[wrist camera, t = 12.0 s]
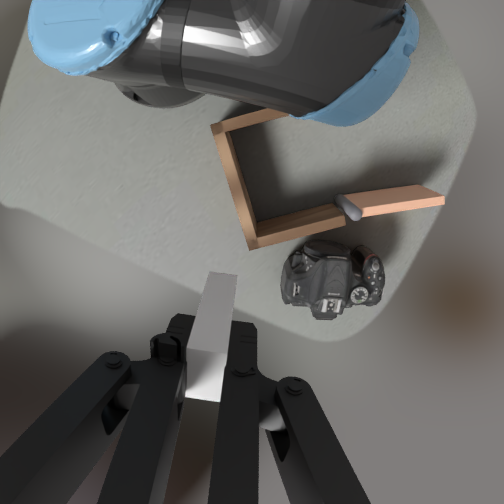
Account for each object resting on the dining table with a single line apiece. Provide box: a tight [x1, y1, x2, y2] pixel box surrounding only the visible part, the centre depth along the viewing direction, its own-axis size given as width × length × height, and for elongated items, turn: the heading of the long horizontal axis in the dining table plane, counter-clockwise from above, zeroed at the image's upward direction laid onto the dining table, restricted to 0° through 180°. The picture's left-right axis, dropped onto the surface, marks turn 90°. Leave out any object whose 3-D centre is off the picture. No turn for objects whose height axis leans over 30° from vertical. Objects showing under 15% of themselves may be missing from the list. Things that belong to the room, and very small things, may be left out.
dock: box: [210, 108, 346, 251], centre depth 36 cm, size 14×11×6 cm
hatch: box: [334, 185, 444, 221], centre depth 36 cm, size 12×2×7 cm, turn 101°
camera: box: [280, 240, 385, 320], centre depth 39 cm, size 13×10×10 cm
